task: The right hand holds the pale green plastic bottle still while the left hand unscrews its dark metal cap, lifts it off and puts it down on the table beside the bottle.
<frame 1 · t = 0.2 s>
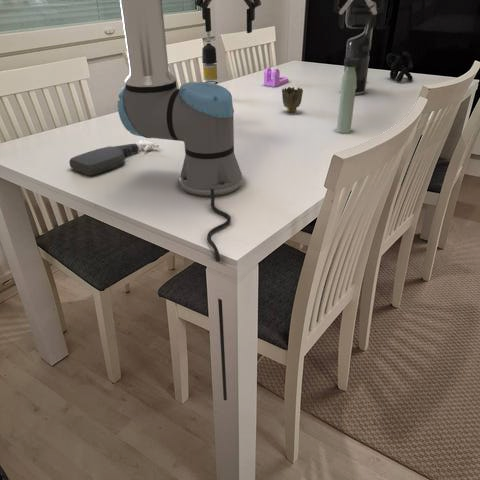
left hand: (228, 32, 139), 28 cm above the table, tool pointing down, fingers open, 13 cm apart
right hand: (356, 28, 132), 29 cm above the table, tool pointing down, fingers open, 8 cm apart
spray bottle: (117, 159, 125), on the table
squiggle: (399, 80, 200), on the table
bracket: (277, 83, 199), on the table
bottle: (343, 131, 142), on the table
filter: (211, 98, 179), on the table
cap: (351, 60, 131), point 21 cm above the table, screwed on, not yet turned
cup: (291, 112, 161), on the table
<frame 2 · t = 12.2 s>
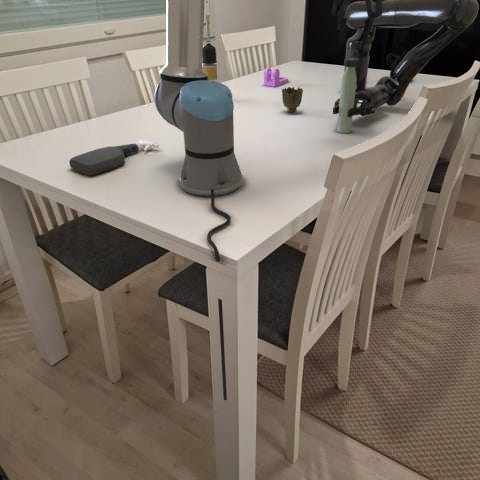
left hand: (353, 43, 129), 26 cm above the table, tool pointing down, fingers open, 6 cm apart
right hand: (341, 112, 137), 7 cm above the table, tool horizontal, fingers closed on bottle, 4 cm apart
bottle: (343, 131, 142), on the table, touching right hand
everything else where it was.
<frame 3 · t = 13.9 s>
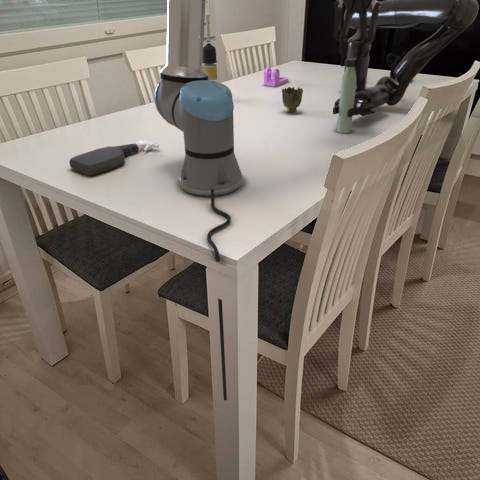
left hand: (350, 66, 132), 20 cm above the table, tool pointing down, fingers closed on cap, 4 cm apart
right hand: (341, 112, 137), 7 cm above the table, tool horizontal, fingers closed on bottle, 4 cm apart
bottle: (343, 131, 142), on the table, touching right hand
cap: (351, 60, 131), point 21 cm above the table, screwed on, not yet turned, touching left hand
everything else where it was.
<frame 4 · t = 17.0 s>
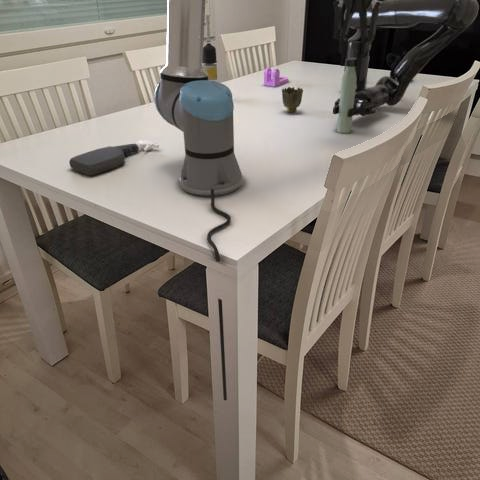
left hand: (350, 65, 132), 20 cm above the table, tool pointing down, fingers closed on cap, 4 cm apart
right hand: (341, 112, 137), 7 cm above the table, tool horizontal, fingers closed on bottle, 4 cm apart
bottle: (343, 131, 142), on the table, touching right hand
cap: (351, 59, 131), point 22 cm above the table, turned 92° so far, risen 0.1 cm, still on its thread, touching left hand
everything else where it was.
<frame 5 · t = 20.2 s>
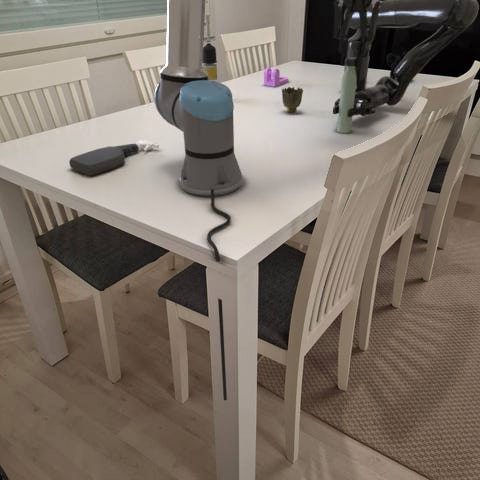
left hand: (350, 65, 132), 20 cm above the table, tool pointing down, fingers closed on cap, 4 cm apart
right hand: (341, 112, 137), 7 cm above the table, tool horizontal, fingers closed on bottle, 4 cm apart
bottle: (343, 131, 142), on the table, touching right hand
cap: (351, 59, 131), point 22 cm above the table, turned 183° so far, risen 0.2 cm, still on its thread, touching left hand
everything else where it was.
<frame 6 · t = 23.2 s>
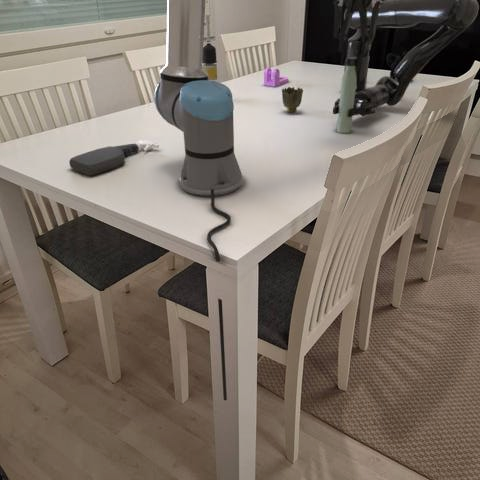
left hand: (350, 64, 132), 20 cm above the table, tool pointing down, fingers closed on cap, 4 cm apart
right hand: (341, 112, 137), 7 cm above the table, tool horizontal, fingers closed on bottle, 4 cm apart
bottle: (343, 131, 142), on the table, touching right hand
cap: (351, 58, 131), point 22 cm above the table, turned 275° so far, risen 0.3 cm, still on its thread, touching left hand
everything else where it was.
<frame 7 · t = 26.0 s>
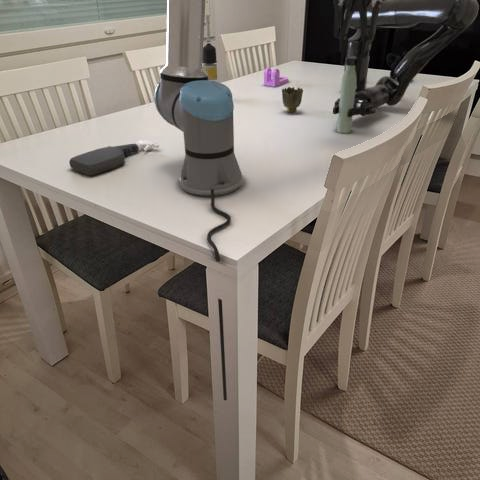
left hand: (350, 64, 132), 20 cm above the table, tool pointing down, fingers closed on cap, 4 cm apart
right hand: (341, 112, 137), 7 cm above the table, tool horizontal, fingers closed on bottle, 4 cm apart
bottle: (343, 131, 142), on the table, touching right hand
cap: (351, 58, 131), point 22 cm above the table, turned 367° so far, risen 0.4 cm, still on its thread, touching left hand
everything else where it was.
when the left hand's fingers open (2 cm above the table, at t = 31.9 s): cap drops 2 cm, point 2 cm above the table.
when the right hand's fingers open (7 cm above the table, at t = 33.2 s): bottle stays where it is, on the table.
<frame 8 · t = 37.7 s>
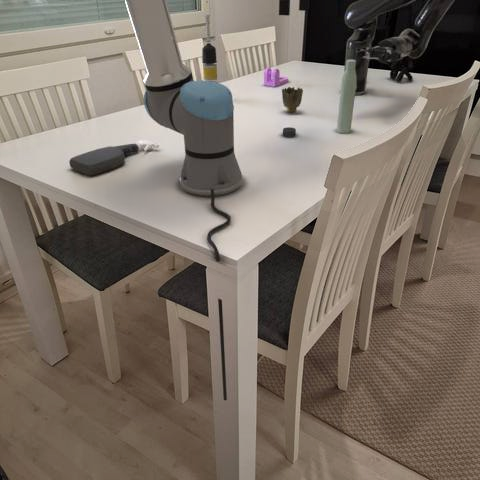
left hand: (294, 12, 122), 34 cm above the table, tool pointing down, fingers open, 13 cm apart
right hand: (369, 57, 139), 21 cm above the table, tool horizontal, fingers open, 8 cm apart
bottle: (343, 131, 142), on the table
cap: (289, 130, 139), point 2 cm above the table, off its thread
everything else where it was.
at the end: cap came off its thread; cap point 1.6 cm above the table; the left hand is holding nothing; the right hand is holding nothing; bottle tilted 0°; bottle moved 0.0 cm from its start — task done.
